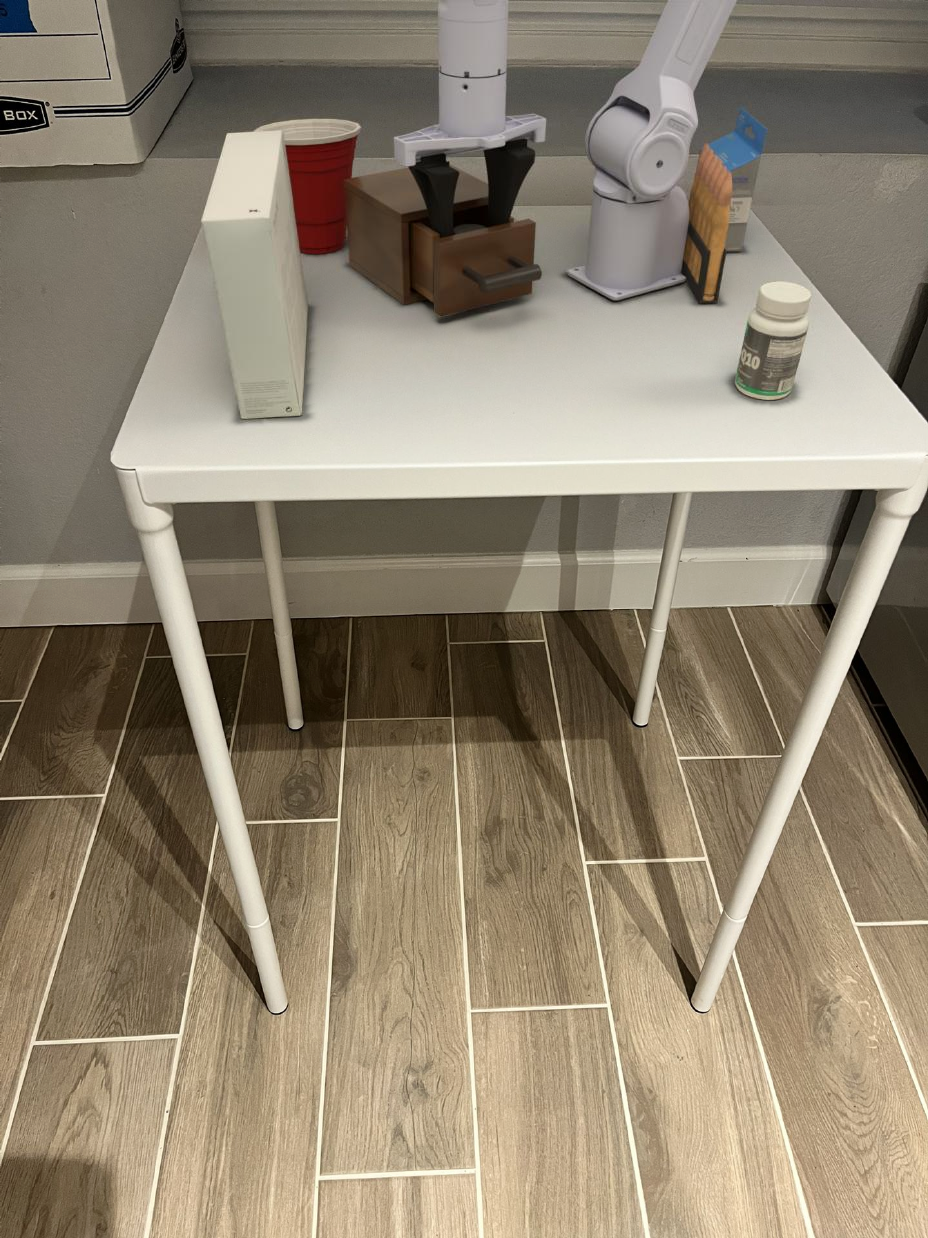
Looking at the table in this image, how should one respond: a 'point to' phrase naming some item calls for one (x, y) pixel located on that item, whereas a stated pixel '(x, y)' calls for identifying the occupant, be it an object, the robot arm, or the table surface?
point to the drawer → (472, 262)
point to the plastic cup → (319, 178)
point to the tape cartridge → (740, 172)
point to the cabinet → (394, 224)
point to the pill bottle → (773, 341)
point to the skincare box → (258, 273)
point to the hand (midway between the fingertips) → (470, 234)
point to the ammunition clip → (707, 227)
